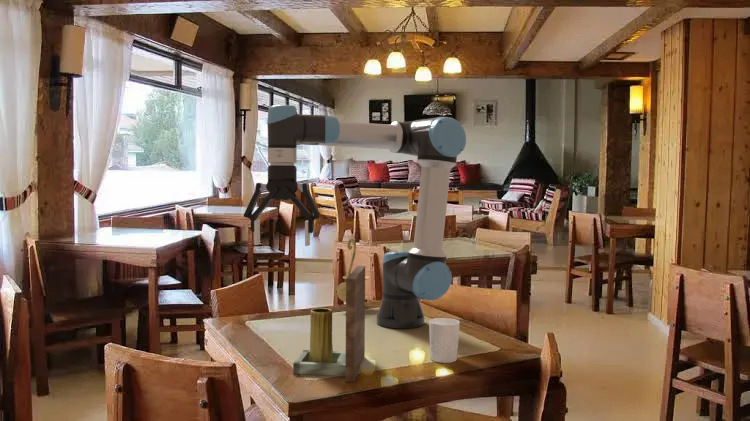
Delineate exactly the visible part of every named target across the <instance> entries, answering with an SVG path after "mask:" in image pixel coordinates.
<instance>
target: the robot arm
mask: <svg viewBox="0 0 750 421" xmlns="http://www.w3.org/2000/svg"><path fill="white" fill-rule="evenodd" d="M266 124H267V163H268V164H269V165H268V166H267V183H263V182H256V183H255V189H254V193H253V194H252V197H251V199H250V200H249V203H248V205H247V207H246V209H245V211H244V213H243V217H244V218H246V219H249V220H250V232H251V233H254V235H253V236H254V239H253V241H254V244H253V245H254V246H258V245H260V244H261V219H258V218H259V217H260V216H261V214H262V213H263V212H264V211H265V209H266V208H267V207H268V206H269V205H270V203H271V202H273V201H274V200H275V201H280V200H282V201H289V200H290V201H292V202H293V203H294V204H295V206H296V207H297V209H299V211H300V213H302V215H304V217H305V219H307V220H305V221H304V247H309V246H310V245H311V234H313V233H314V230H315V227H314V224H315V220H318V219H320V218H321V217H322V215H321V212H320V211H319V208H318V207H317V205H316V202H315V201H314V198H313V197H312V194H311V193H310V186H309V183H307V182H305V183H301V184H300V183H298V182H297V169H298V168H297V166H296V165H295V164H297V159H298V158H297V157H298V156H297V155H298V154H297V153H298V152H297V146H300V145H305V146H324V147H325V146H326V147H327V146H328V147H329V146H330V147H343V148H358V149H359V148H360V149H363V148H364V149H377V150H379V149H381V150H389V152H390V153H394V154H403V155H409V156H415V157H416V158H417V163H418V164H419V165H420V166H421V167H420V168H421V170H420V179H419V180H420V182H419V189H418V201H417V208H416V209H417V210H416V219H415V228H414V239H413V246H412V247H411V248H410V249H409V250H408V251H407V250H406V251H392V252H391V251H389V252H386V253H384V254H383V258H382V265H381V266H382V299H381V302H380V306H379V309H378V311H377V316H376V324H377V325H379V326H381V327H384V328H392V329H412V328H413V329H414V328H419V327H422V326H424V324H425V315H424V311H423V308H422V305H421V302H420V300H426V301H436V300H438V299H441V298H443V296H444V295H446V294H447V292H448V291H449V289H450V288H451V284H452V281H453V280H452V279H453V277H452V271H451V270H450V267H449V266H448V265H447V254H446V252H444V250H443V244H444V235H445V226H446V225H445V224H446V214H447V206H448V205H447V204H448V198H449V197H448V196H449V195H448V193H449V186H450V178H451V177H450V176H451V170H452V169H453V168H454V167H455V166H456V165H457V159H458V158H457V157H458V156H459V155H460V154H461V153H462V152H463V151H464V149H465V147H466V144H467V135H466V131H465V129H464V127H463V126H462V125H461V123H460V122H459V121H458V120H457V119H455V118H453V117H450V116H449V117H448V116H437V117H432V118H431V117H430V118H422V119H416V120H412V121H392V122H391V124H385V123H384V124H383V123H371V122H360V121H358V122H356V121H343V120H339V119H338V118H337V117H336V116H334V115H327V114H325V115H324V114H323V115H322V114H320V115H319V114H301V113H298V109H297V107H296V106H295V105H289V104H275V105H271V106H269V108H268V111H267V122H266ZM265 189H266V190H267V192H268V193H269V194H267V196H266V197H265V199H264V200H263V201H262V202H261V203H260V205H259V206H258V207H257V208H256V209H255V207H256V206H257V203H258V202H259V199H260V197H261V194H262V193H263V192H264V191H265ZM298 190H300V192H301V193H302V194H303V196H304V198H305V200H306V203H307V204H308V207H309V208H310V210H311V212H312V213H311V212H310V210H309V209H308V208H307V207H306V205H305V204H304V203H303V202H302V200H301V199H300V198H299V196H298V195H297V194H296V192H298ZM254 209H255V211H254ZM253 211H254V212H253Z"/></svg>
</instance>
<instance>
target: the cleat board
mask: <svg viewBox="0 0 750 421" xmlns="http://www.w3.org/2000/svg"><path fill="white" fill-rule="evenodd" d="M365 276H366V265H357V266H356V267H355V268H354V269H353V270H352V271H351V274H350V275H349V276H348V277H347V278H346V280H345V282H346V302H345V351H338V350H337V351H334V350H333V363H318V362H309V358H310V349H303V350H302V352H301V353H300V354H299V356H298V357H297V358H296V360H295V361H294V362H293V364H292V366H293V368H292V369H293V373H292V374H294V375H298V374H299V375H311V376H312V375H317V376H318V375H319V376H335V377H336V376H338V377H339V376H340V377H344V378H345V383H355V381H356V378H357V376H358V374H359V371H360V369H361V366H362V364H363V362H364V359H365V354H366V352H365V351H366V350H365V348H366V347H365V346H366V345H365V343H366V342H365V341H366V340H365V339H366V337H365V335H366V334H365V333H366V332H365V331H366V330H365V329H366V328H365V327H366V324H365V323H366V280H365Z"/></svg>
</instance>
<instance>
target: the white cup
mask: <svg viewBox="0 0 750 421" xmlns="http://www.w3.org/2000/svg"><path fill="white" fill-rule="evenodd" d="M460 323H461V322H460V320H458V319H455V318H449V317H435V318H432V319H428V327H429V328H428V333H429V334H428V335H429V350H430V359H431V361H432V362H436V363H439V364H441V363H442V364H449V363H450V364H451V363H454V362H456V361H457V360H458V349H459V342H460V341H459V340H460V325H461V324H460Z"/></svg>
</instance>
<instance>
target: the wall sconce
mask: <svg viewBox="0 0 750 421" xmlns="http://www.w3.org/2000/svg"><path fill="white" fill-rule="evenodd" d="M351 242H352V244H353V245H351ZM347 248H348V250H350V251H351V250H352V249H353V250H352V254H351V258H350V264H349V267H348V270H347V275H344V276H342V278H343V279H344V280H345V281H344V282H341V283H339V285H337V288H336V296H337V297H338V299H340V301H342V302H345V303H346V278H347V277H348V276H349V275H350V274H351V273H352V268H353V264H354V261H355V258H356V253H357V243H356V239H355V238H354V237H350V238H349V239H348V242H347ZM369 279H370V276H368V275H365V281H366V280H369Z"/></svg>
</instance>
